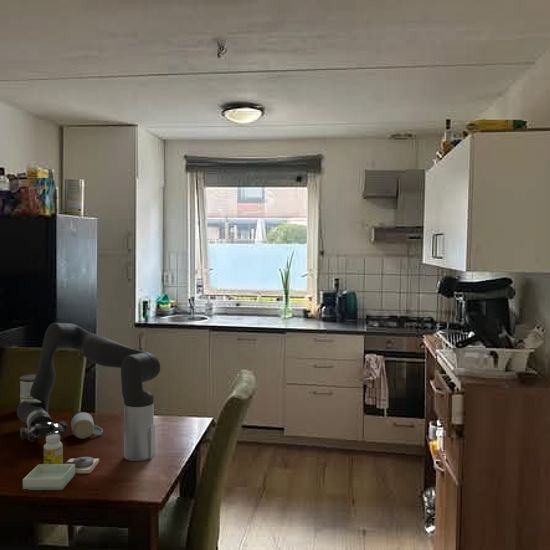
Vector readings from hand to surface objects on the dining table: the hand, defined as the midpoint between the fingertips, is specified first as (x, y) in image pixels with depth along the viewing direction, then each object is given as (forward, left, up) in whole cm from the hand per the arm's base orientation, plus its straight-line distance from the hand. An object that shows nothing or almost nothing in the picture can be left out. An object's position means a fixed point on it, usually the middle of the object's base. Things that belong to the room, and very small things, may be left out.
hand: (47, 436), depth 174 cm
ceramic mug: (-6, -20, -7) cm, 22 cm away
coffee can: (+26, -52, -7) cm, 58 cm away
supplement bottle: (-5, +9, -7) cm, 12 cm away
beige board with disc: (-13, +9, -7) cm, 17 cm away
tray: (-8, +20, -7) cm, 22 cm away
